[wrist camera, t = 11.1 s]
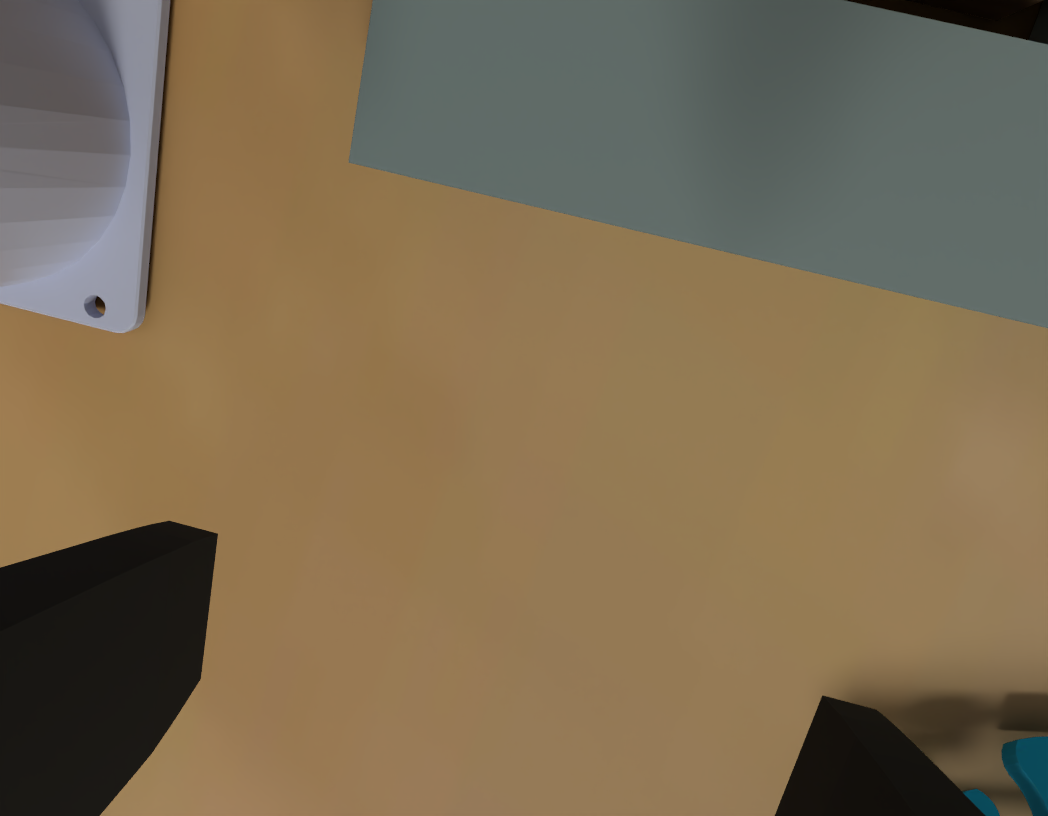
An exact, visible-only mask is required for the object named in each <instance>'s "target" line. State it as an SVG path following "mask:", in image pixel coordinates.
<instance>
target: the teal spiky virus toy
mask: <svg viewBox="0 0 1048 816" xmlns="http://www.w3.org/2000/svg"><path fill="white" fill-rule="evenodd" d="M1002 760H1003V764H1004V767H1005V769H1006V770H1007V772H1008V774H1009V775H1010V776H1011V778H1012V779H1013V780H1014V781H1015V783H1016V784H1017V785H1018V786H1019V788H1020V790H1021V791H1022V793H1023V795H1024V796H1025V798H1026V800H1027V802H1028V804H1029V807H1030V809H1031V811H1032V814H1033V816H1048V737H1032V738H1025V739H1019V740H1015V741H1012V742H1009V743H1005V744H1003V748H1002ZM963 793H964V794H965V795H966V796H967V797H968V798H969V799H970V800H971V801H972V802H973V803H974V804H975V805H976V806H977V807H978V808H979V809H980V810H981V811H982V813H983V814H984V815H985V816H1000V815H999V812H998V810H997V808H996V806H995V805H994V803H993V802H992V801H991V800H990V798H989V797H987V796H986V795H985V794H984V793H983V792H981V791H980V790H978V789H972V790H968V791H963Z"/></svg>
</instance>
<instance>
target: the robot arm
mask: <svg viewBox="0 0 1048 816" xmlns="http://www.w3.org/2000/svg"><path fill="white" fill-rule="evenodd" d="M169 11H170V0H0V303H1V304H5V305H9V306H13V307H17V308H21V309H25V310H29V311H32V312H36V313H40V314H44V315H48V316H52V317H56V318H60V319H64V320H68V321H72V322H76V323H80V324H84V325H88V326H91V327H95V328H99V329H103V330H107V331H111V332H115V333H125V332H128V331H131V330H134V329H136V328H138V327H139V326H140V325H141V324H142V323H143V320H144V316H145V308H146V296H147V284H148V271H149V259H150V247H151V234H152V222H153V209H154V197H155V185H156V172H157V160H158V148H159V135H160V123H161V110H162V98H163V86H164V73H165V61H166V48H167V36H168V24H169ZM97 296H98V297H100V298H101V299H102V300H103V302H104V303H105V307H106V311H105V314H102V313H100V312H99V311H98V309H97V308H96V304H95V300H96V297H97ZM217 536H218V534H217V533H213V532H209V531H206V530H202V529H198V528H194V527H191V526H187V525H183V524H179V523H176V522H172V521H166V522H161V523H156V524H151V525H147V526H143V527H139V528H135V529H131V530H127V531H124V532H120V533H117V534H113V535H110V536H106V537H103V538H99V539H96V540H93V541H89V542H86V543H82V544H79V545H76V546H72V547H69V548H66V549H62V550H59V551H55V552H52V553H49V554H45V555H42V556H38V557H35V558H32V559H28V560H25V561H22V562H18V563H15V564H11V565H8V566H5V567H1V568H0V816H100V815H101V813H102V812H103V811H104V810H105V809H106V807H107V806H108V805H109V804H110V803H111V801H112V800H113V799H114V798H115V797H116V796H117V794H118V793H119V792H120V791H121V790H122V788H123V787H124V786H125V785H126V784H127V783H128V781H129V780H130V779H131V778H132V777H133V775H134V774H135V773H136V772H137V771H138V769H139V768H140V767H141V766H142V765H143V763H144V762H145V761H146V760H147V758H148V757H149V756H150V755H151V754H152V752H153V751H154V749H155V748H156V746H157V745H158V743H159V742H160V740H161V739H162V738H163V736H164V735H165V733H166V732H167V730H168V729H169V727H170V726H171V724H172V723H173V721H174V720H175V718H176V717H177V715H178V714H179V712H180V711H181V709H182V707H183V706H184V704H185V703H186V701H187V700H188V698H189V696H190V695H191V693H192V692H193V690H194V689H195V687H196V685H197V684H198V682H199V681H200V679H201V672H202V663H203V655H204V646H205V638H206V629H207V621H208V612H209V604H210V596H211V587H212V579H213V570H214V562H215V553H216V545H217ZM775 816H985V815H984V814H983V813H982V811H981V810H980V809H979V808H978V807H977V806H976V805H975V804H974V803H973V802H972V801H971V800H970V799H969V798H968V797H967V796H966V795H965V794H964V793H963V792H962V791H961V790H960V789H959V788H958V787H957V786H956V785H955V784H954V783H953V782H952V781H951V780H950V779H949V778H948V777H947V776H946V775H945V774H944V773H943V772H942V771H941V770H940V769H939V768H938V767H937V766H936V765H935V764H934V763H933V762H932V761H931V760H930V759H929V758H928V757H927V756H926V755H925V754H924V753H923V752H922V751H921V750H920V749H919V748H918V747H917V746H916V745H915V744H914V743H913V742H912V741H911V740H910V739H909V738H907V737H906V736H905V735H904V734H903V733H902V732H901V731H900V730H899V729H898V728H897V727H896V726H895V725H894V724H892V723H891V722H890V721H889V720H888V719H887V718H886V717H884V716H883V715H882V714H881V713H880V712H878V711H877V710H875V709H871V708H867V707H864V706H860V705H856V704H853V703H849V702H845V701H841V700H838V699H834V698H830V697H826V696H822V698H821V701H820V703H819V706H818V708H817V711H816V713H815V716H814V718H813V721H812V723H811V726H810V728H809V731H808V733H807V736H806V738H805V741H804V743H803V746H802V748H801V751H800V753H799V756H798V759H797V761H796V764H795V766H794V769H793V771H792V774H791V776H790V779H789V781H788V784H787V786H786V789H785V791H784V794H783V796H782V799H781V801H780V804H779V806H778V809H777V811H776V814H775Z"/></svg>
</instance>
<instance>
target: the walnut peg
mask: <svg viewBox="0 0 1048 816" xmlns="http://www.w3.org/2000/svg"><path fill="white" fill-rule="evenodd" d="M907 1H912V2H916V3H920V4H924V5H929V6H933V7H937V8H942V9H946V10H950V11H955V12H959V13H963V14H968V15H972V16H976V17H981V18H985V19H989V20H993V21H997V20H999V19H1002V18H1004V17H1006V16H1009V15H1011V14H1013V13H1015V12H1018V11H1020V10H1022V9H1025V8H1027V7H1029V6H1031V5H1034V4H1036V3H1038V2H1041V1H1043V0H907Z"/></svg>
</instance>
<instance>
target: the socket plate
mask: <svg viewBox="0 0 1048 816" xmlns="http://www.w3.org/2000/svg"><path fill="white" fill-rule="evenodd" d="M349 163H353V164H357V165H362V166H366V167H370V168H374V169H378V170H383V171H387V172H391V173H395V174H400V175H404V176H408V177H412V178H416V179H421V180H425V181H429V182H433V183H438V184H442V185H446V186H450V187H454V188H459V189H463V190H467V191H471V192H475V193H480V194H484V195H488V196H492V197H497V198H501V199H505V200H509V201H513V202H518V203H522V204H526V205H530V206H535V207H539V208H543V209H547V210H551V211H556V212H560V213H564V214H568V215H573V216H577V217H581V218H585V219H589V220H594V221H598V222H602V223H606V224H611V225H615V226H619V227H623V228H627V229H632V230H636V231H640V232H644V233H649V234H653V235H657V236H661V237H665V238H670V239H674V240H678V241H682V242H687V243H691V244H695V245H699V246H703V247H708V248H712V249H716V250H720V251H724V252H729V253H733V254H737V255H741V256H746V257H750V258H754V259H758V260H762V261H767V262H771V263H775V264H779V265H784V266H788V267H792V268H796V269H800V270H805V271H809V272H813V273H817V274H822V275H826V276H830V277H834V278H838V279H843V280H847V281H851V282H855V283H860V284H864V285H868V286H872V287H876V288H881V289H885V290H889V291H893V292H898V293H902V294H906V295H910V296H914V297H919V298H923V299H927V300H931V301H936V302H940V303H944V304H948V305H952V306H957V307H961V308H965V309H969V310H973V311H978V312H982V313H986V314H990V315H995V316H999V317H1003V318H1007V319H1011V320H1016V321H1020V322H1024V323H1028V324H1033V325H1037V326H1041V327H1045V328H1048V0H1043V3H1042V6H1041V8H1040V11H1039V14H1038V16H1037V19H1036V22H1035V24H1034V27H1033V29H1032V32H1031V35H1030V37H1029V40H1025V39H1020V38H1015V37H1011V36H1006V35H1002V34H997V33H992V32H988V31H983V30H979V29H974V28H969V27H965V26H960V25H955V24H951V23H946V22H942V21H937V20H932V19H928V18H923V17H919V16H914V15H909V14H905V13H900V12H896V11H891V10H886V9H882V8H877V7H872V6H868V5H863V4H859V3H854V2H849V1H845V0H373V3H372V10H371V16H370V23H369V30H368V36H367V43H366V50H365V56H364V63H363V70H362V77H361V83H360V90H359V97H358V103H357V110H356V117H355V123H354V130H353V137H352V143H351V150H350V157H349Z"/></svg>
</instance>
